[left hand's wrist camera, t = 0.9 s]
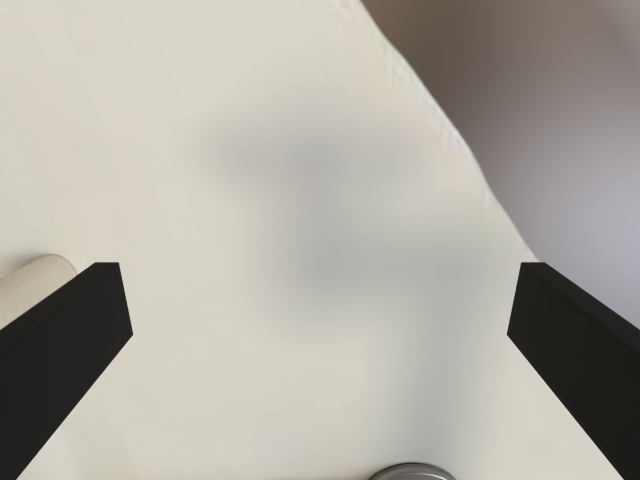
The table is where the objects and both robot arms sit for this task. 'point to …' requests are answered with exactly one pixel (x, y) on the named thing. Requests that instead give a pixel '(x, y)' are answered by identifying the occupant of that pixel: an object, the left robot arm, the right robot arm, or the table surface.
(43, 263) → the jar
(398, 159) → the table surface
